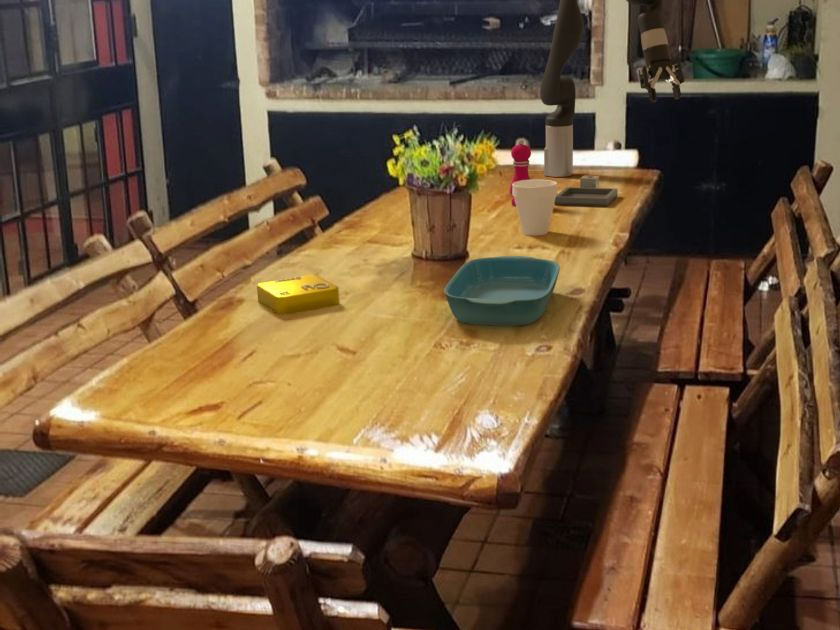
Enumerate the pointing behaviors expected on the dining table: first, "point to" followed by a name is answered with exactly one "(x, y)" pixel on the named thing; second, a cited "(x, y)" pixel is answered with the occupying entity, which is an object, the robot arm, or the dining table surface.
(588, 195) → the tray
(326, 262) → the dining table surface
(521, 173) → the pepper mill
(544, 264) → the casserole dish
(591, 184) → the grey dotted cube
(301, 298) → the element tile
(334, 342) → the dining table surface
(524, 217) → the cup
